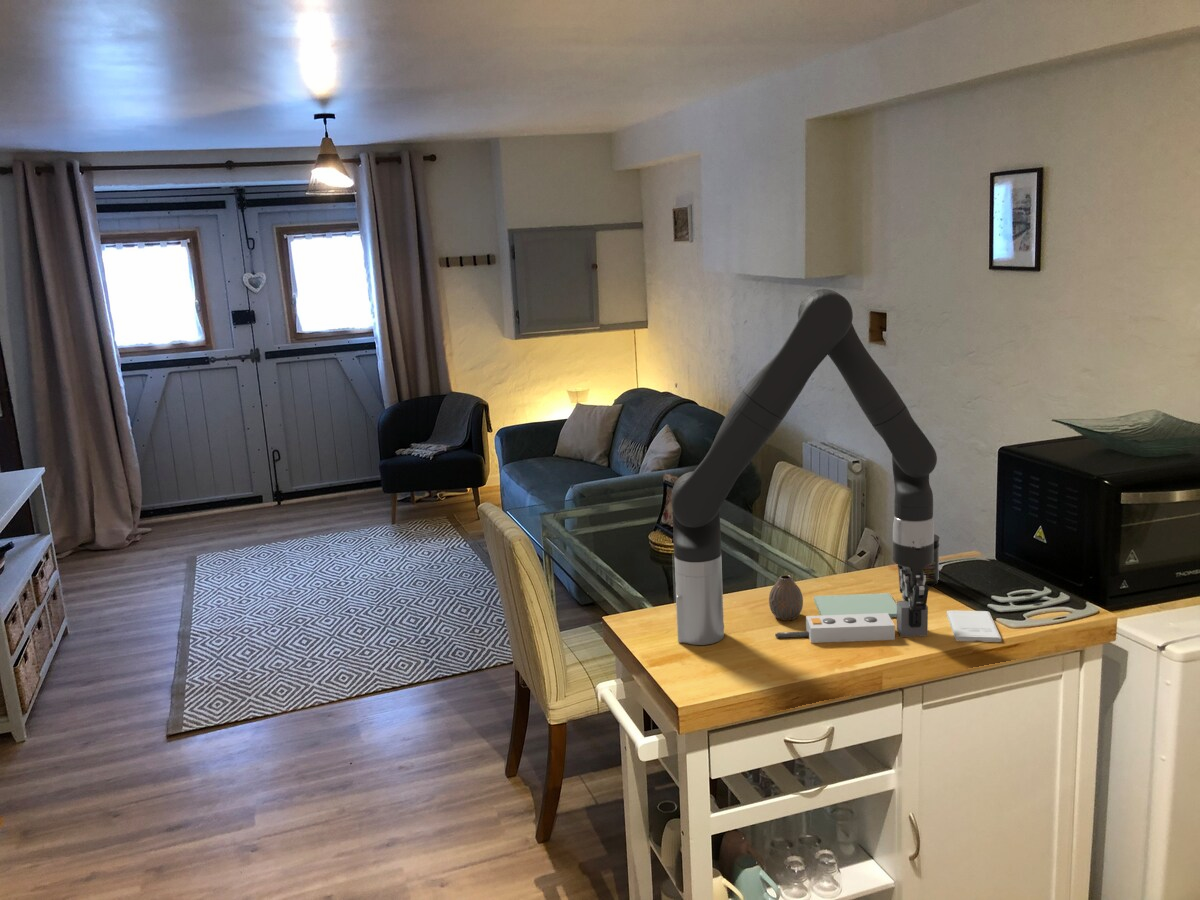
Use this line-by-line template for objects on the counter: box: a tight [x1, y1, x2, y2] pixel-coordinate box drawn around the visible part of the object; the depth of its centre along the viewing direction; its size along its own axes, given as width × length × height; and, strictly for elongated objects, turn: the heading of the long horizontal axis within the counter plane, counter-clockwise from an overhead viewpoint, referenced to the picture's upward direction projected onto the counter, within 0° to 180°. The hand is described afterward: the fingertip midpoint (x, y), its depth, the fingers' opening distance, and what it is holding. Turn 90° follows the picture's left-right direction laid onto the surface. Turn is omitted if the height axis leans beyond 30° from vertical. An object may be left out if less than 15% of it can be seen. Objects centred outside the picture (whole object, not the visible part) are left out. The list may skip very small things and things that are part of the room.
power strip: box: [774, 613, 896, 644], centre depth 194 cm, size 22×6×3 cm, turn 87°
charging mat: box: [813, 592, 897, 619], centre depth 206 cm, size 16×11×1 cm
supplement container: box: [923, 533, 941, 588], centre depth 217 cm, size 7×7×10 cm
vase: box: [768, 574, 804, 621], centre depth 203 cm, size 7×7×9 cm
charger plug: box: [896, 600, 929, 638], centre depth 192 cm, size 5×4×6 cm
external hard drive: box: [946, 609, 1002, 643], centre depth 193 cm, size 2×8×12 cm
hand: (912, 621), depth 193 cm, fingers closed on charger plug, 3 cm apart
